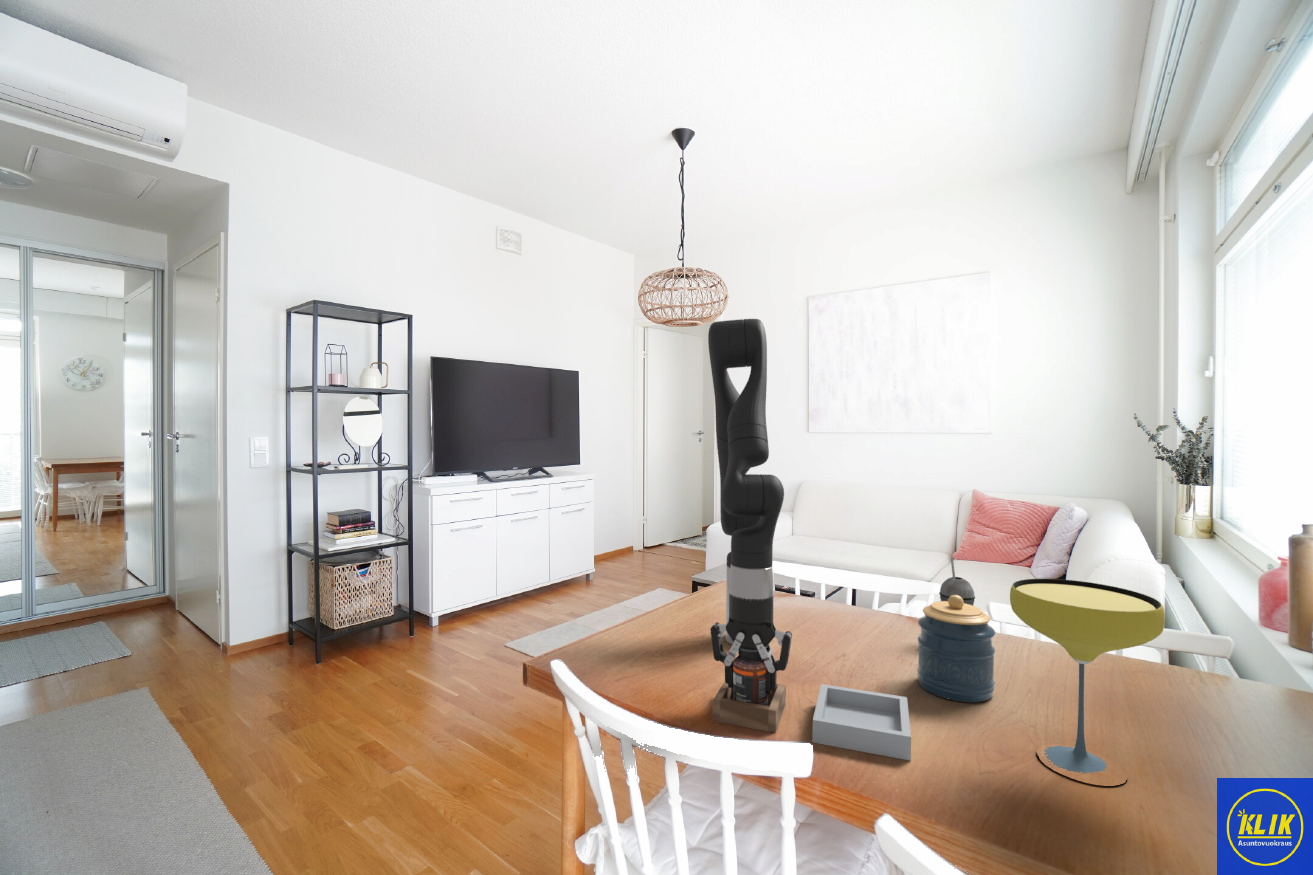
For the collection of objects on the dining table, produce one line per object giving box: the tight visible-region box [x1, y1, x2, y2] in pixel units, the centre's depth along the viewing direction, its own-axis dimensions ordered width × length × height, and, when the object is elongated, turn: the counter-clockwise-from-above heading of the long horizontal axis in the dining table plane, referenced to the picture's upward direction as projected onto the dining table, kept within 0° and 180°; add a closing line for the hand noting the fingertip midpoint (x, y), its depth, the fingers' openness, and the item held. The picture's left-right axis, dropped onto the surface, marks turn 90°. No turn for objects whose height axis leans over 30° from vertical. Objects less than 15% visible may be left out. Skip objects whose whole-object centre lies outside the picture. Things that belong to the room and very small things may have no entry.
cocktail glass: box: [1009, 578, 1166, 774], centre depth 86 cm, size 18×18×25 cm
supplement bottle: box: [732, 648, 769, 706], centre depth 101 cm, size 6×6×11 cm
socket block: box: [712, 680, 787, 733], centre depth 101 cm, size 10×10×4 cm
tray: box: [812, 683, 912, 762], centre depth 95 cm, size 14×14×4 cm
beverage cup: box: [939, 557, 976, 606], centre depth 133 cm, size 7×7×20 cm
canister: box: [917, 595, 996, 703], centre depth 111 cm, size 13×13×18 cm
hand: (750, 688), depth 101 cm, fingers closed on supplement bottle, 6 cm apart
